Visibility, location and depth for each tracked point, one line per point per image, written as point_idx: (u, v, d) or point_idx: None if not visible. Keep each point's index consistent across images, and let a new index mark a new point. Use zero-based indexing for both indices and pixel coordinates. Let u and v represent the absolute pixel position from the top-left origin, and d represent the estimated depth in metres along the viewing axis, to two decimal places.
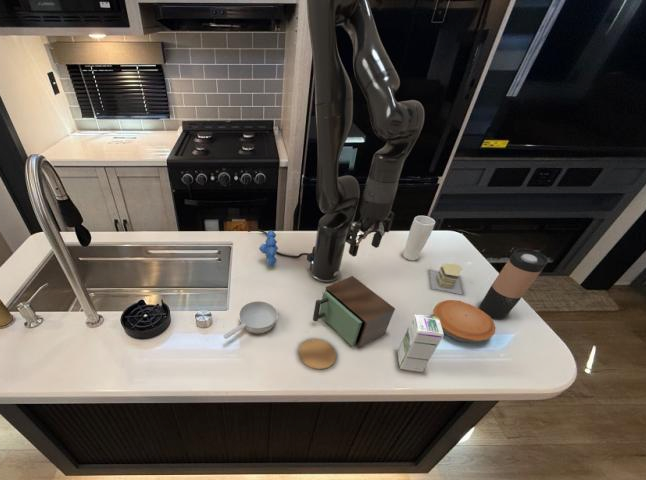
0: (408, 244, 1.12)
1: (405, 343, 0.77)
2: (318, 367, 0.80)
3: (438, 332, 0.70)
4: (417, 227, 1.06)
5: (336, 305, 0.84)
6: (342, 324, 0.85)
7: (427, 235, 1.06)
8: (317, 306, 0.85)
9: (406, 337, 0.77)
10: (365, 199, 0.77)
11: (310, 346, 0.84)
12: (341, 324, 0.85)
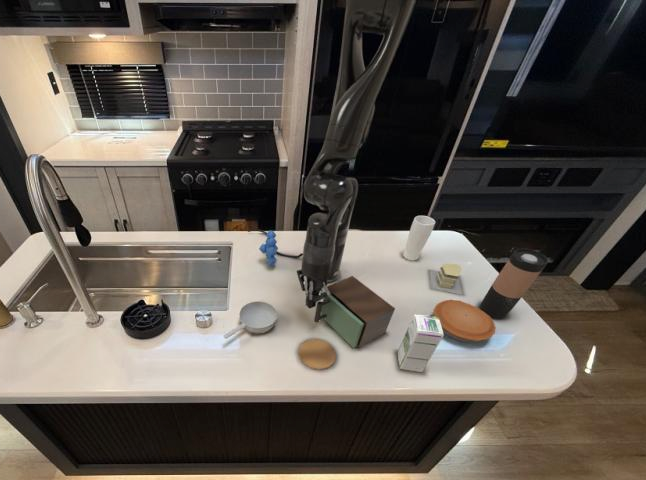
0: (408, 244, 1.12)
1: (405, 343, 0.77)
2: (318, 367, 0.80)
3: (438, 332, 0.70)
4: (417, 227, 1.06)
5: (338, 306, 0.84)
6: (343, 325, 0.84)
7: (427, 235, 1.06)
8: (318, 307, 0.85)
9: (406, 337, 0.77)
10: None
11: (310, 346, 0.84)
12: (343, 326, 0.85)
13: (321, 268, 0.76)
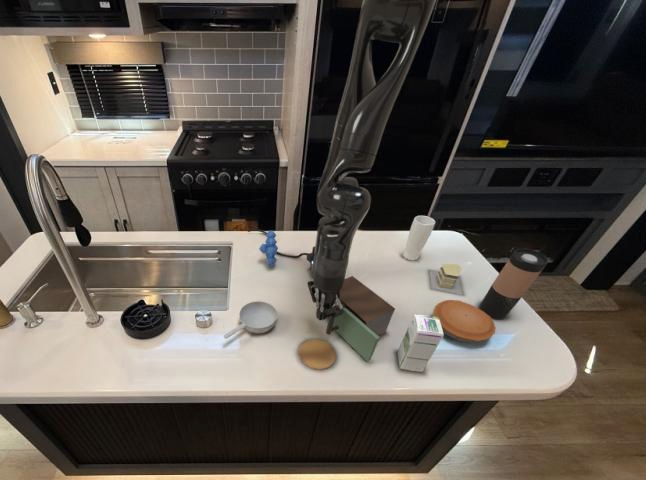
0: (408, 244, 1.12)
1: (405, 343, 0.77)
2: (318, 367, 0.80)
3: (438, 332, 0.70)
4: (417, 227, 1.06)
5: (351, 319, 0.80)
6: (357, 338, 0.81)
7: (427, 235, 1.06)
8: (331, 319, 0.82)
9: (406, 337, 0.77)
10: None
11: (310, 346, 0.84)
12: (356, 338, 0.81)
13: (334, 281, 0.73)
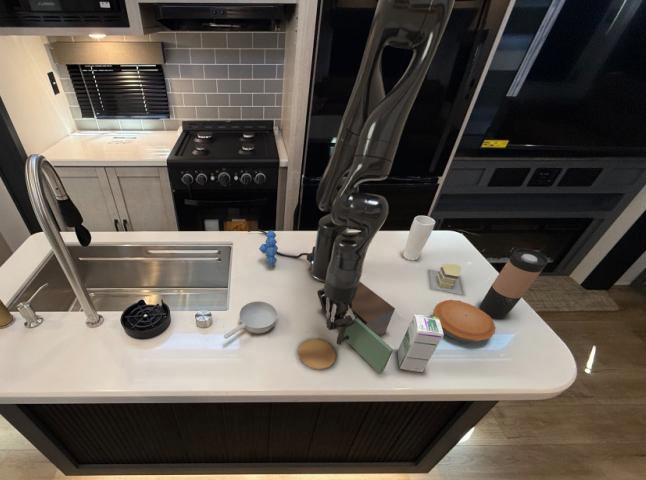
0: (408, 244, 1.12)
1: (405, 343, 0.77)
2: (318, 367, 0.80)
3: (438, 332, 0.70)
4: (417, 227, 1.06)
5: (363, 329, 0.78)
6: (369, 349, 0.78)
7: (427, 235, 1.06)
8: (342, 330, 0.79)
9: (406, 337, 0.77)
10: None
11: (310, 346, 0.84)
12: (368, 349, 0.79)
13: (346, 292, 0.70)
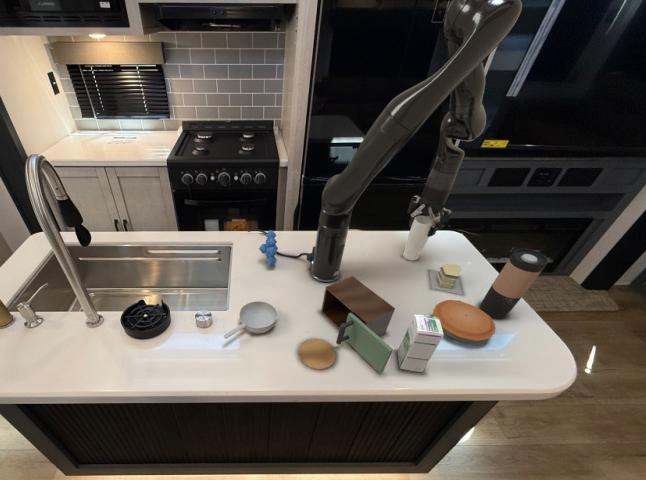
0: (408, 244, 1.12)
1: (405, 343, 0.77)
2: (318, 367, 0.80)
3: (438, 332, 0.70)
4: (417, 227, 1.06)
5: (363, 329, 0.78)
6: (369, 349, 0.78)
7: None
8: (342, 330, 0.79)
9: (406, 337, 0.77)
10: None
11: (310, 346, 0.84)
12: (368, 349, 0.79)
13: (444, 193, 0.96)
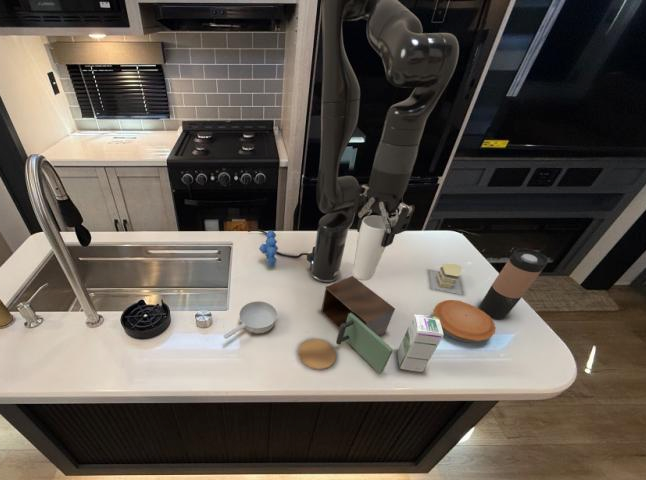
0: (357, 257, 0.76)
1: (405, 343, 0.77)
2: (318, 367, 0.80)
3: (438, 332, 0.70)
4: (366, 233, 0.70)
5: (363, 329, 0.78)
6: (369, 349, 0.78)
7: None
8: (342, 330, 0.79)
9: (406, 337, 0.77)
10: None
11: (310, 346, 0.84)
12: (368, 349, 0.79)
13: (399, 179, 0.60)
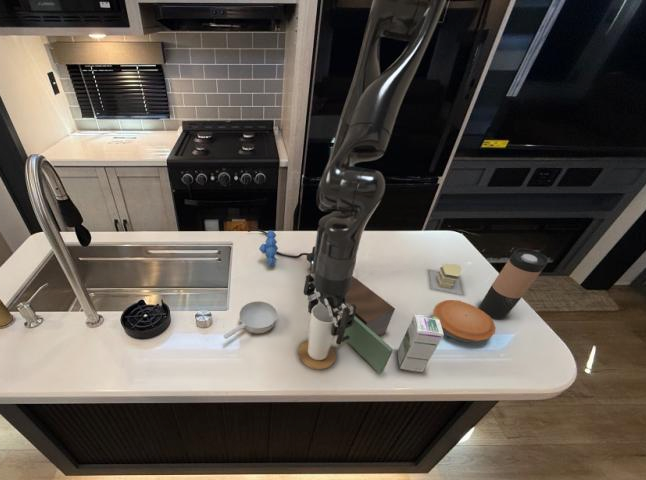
0: (309, 340, 0.78)
1: (405, 343, 0.77)
2: (318, 367, 0.80)
3: (438, 332, 0.70)
4: (314, 323, 0.72)
5: (363, 329, 0.78)
6: (369, 349, 0.78)
7: (330, 334, 0.73)
8: (342, 330, 0.79)
9: (406, 337, 0.77)
10: None
11: None
12: (368, 349, 0.79)
13: (339, 284, 0.62)
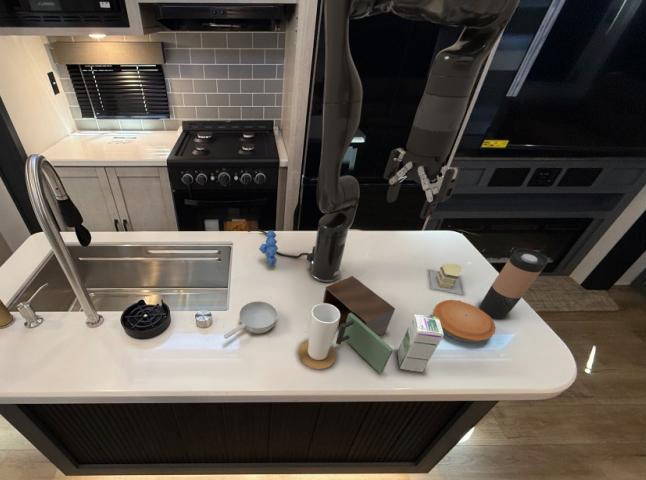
0: (309, 340, 0.78)
1: (405, 343, 0.77)
2: (318, 367, 0.80)
3: (438, 332, 0.70)
4: (314, 323, 0.72)
5: (363, 329, 0.78)
6: (369, 349, 0.78)
7: (330, 334, 0.73)
8: (342, 330, 0.79)
9: (406, 337, 0.77)
10: None
11: None
12: (368, 349, 0.79)
13: (444, 138, 0.54)
